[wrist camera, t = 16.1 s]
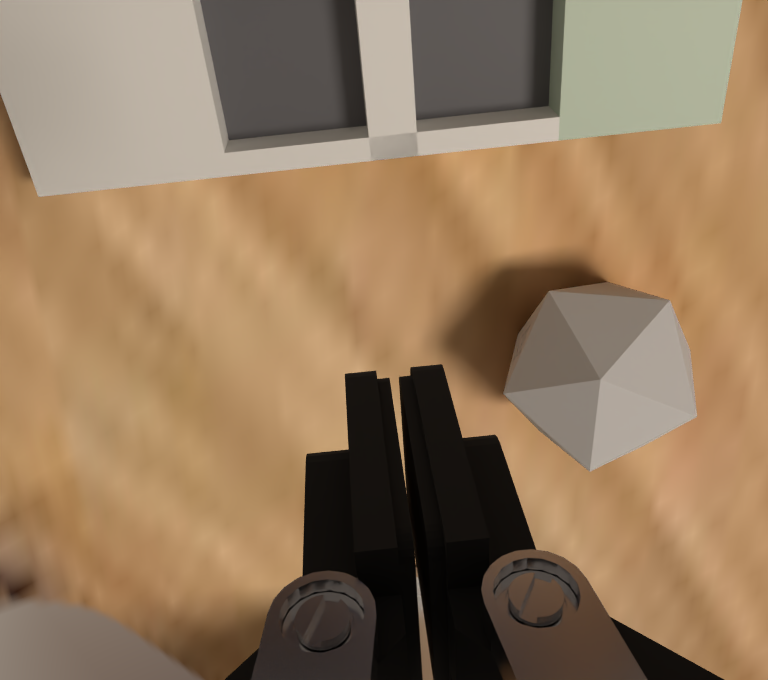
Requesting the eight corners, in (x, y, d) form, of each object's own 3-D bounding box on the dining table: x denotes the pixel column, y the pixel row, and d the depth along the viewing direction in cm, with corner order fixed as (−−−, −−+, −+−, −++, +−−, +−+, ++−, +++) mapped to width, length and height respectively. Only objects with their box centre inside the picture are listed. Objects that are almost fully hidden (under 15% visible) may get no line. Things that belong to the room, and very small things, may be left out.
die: (495, 247, 36) (463, 437, 32) (686, 225, 31) (676, 445, 27) (549, 323, 42) (528, 489, 38) (714, 315, 38) (709, 503, 34)
